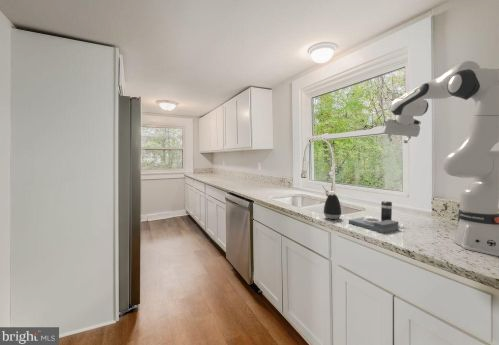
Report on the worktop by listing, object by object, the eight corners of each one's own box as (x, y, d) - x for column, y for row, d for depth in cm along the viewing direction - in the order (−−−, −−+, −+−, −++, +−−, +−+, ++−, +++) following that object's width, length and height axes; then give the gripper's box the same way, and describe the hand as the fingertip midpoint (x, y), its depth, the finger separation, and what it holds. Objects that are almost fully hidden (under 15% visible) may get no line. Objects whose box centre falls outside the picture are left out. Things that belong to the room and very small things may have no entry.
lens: (393, 223, 129) (394, 202, 128) (387, 225, 126) (388, 203, 126) (384, 221, 133) (385, 200, 132) (378, 222, 131) (379, 201, 130)
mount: (398, 229, 118) (398, 221, 118) (383, 233, 113) (383, 225, 112) (363, 220, 136) (363, 213, 136) (348, 223, 130) (348, 216, 130)
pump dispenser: (333, 215, 148) (333, 192, 147) (345, 219, 138) (345, 194, 137) (319, 217, 144) (320, 193, 143) (331, 221, 134) (331, 195, 133)
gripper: (388, 119, 142) (382, 141, 147) (424, 122, 140) (417, 144, 144) (384, 118, 148) (378, 139, 153) (418, 121, 146) (411, 143, 150)
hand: (397, 142), depth 148 cm, fingers open, 8 cm apart
